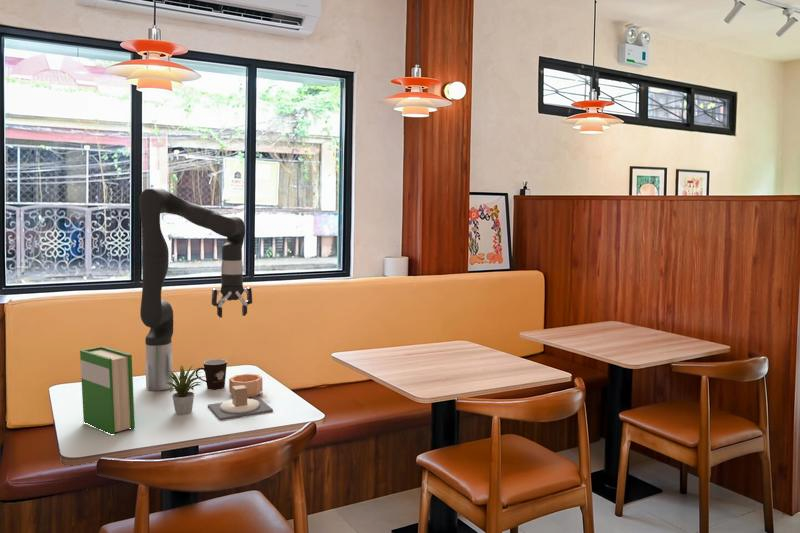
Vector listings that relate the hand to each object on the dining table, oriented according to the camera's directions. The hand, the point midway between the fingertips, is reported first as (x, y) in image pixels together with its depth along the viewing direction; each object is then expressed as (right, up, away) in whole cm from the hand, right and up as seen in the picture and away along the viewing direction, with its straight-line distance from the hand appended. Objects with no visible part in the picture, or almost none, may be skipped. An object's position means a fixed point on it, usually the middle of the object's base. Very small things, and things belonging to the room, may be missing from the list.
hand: (232, 316), depth 242 cm
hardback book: (-31, -33, -31) cm, 55 cm away
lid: (+6, -30, -15) cm, 34 cm away
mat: (+6, -31, -15) cm, 35 cm away
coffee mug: (-10, -28, +10) cm, 32 cm away
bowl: (+4, -29, +3) cm, 29 cm away
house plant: (-12, -31, -19) cm, 39 cm away
